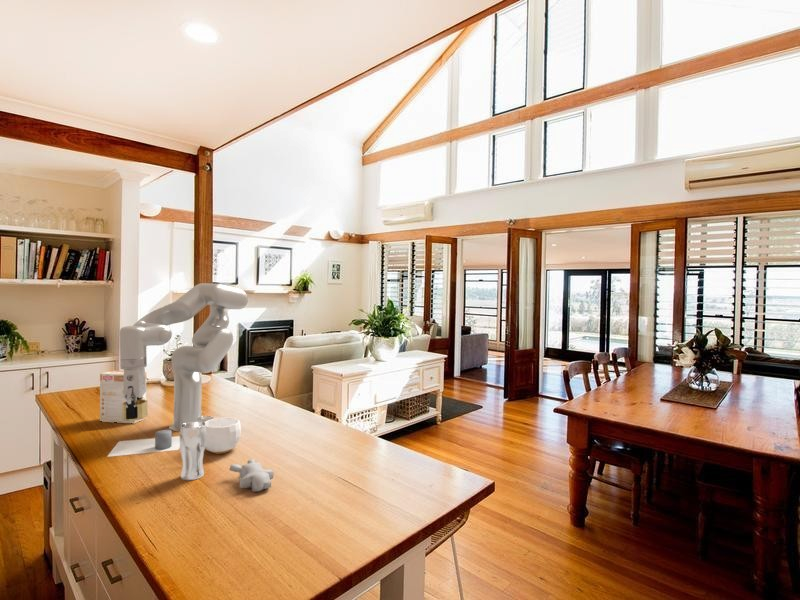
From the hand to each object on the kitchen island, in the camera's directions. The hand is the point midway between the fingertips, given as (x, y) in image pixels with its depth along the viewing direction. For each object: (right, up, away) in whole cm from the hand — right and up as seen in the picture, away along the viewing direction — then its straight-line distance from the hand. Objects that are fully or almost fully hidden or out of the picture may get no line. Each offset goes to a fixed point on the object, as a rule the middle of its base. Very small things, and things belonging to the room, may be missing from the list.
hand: (134, 414), depth 144 cm
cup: (+29, -12, -1) cm, 32 cm away
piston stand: (+5, -11, -1) cm, 12 cm away
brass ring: (0, -1, 0) cm, 1 cm away
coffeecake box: (-22, -10, +28) cm, 37 cm away
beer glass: (+29, -13, -20) cm, 38 cm away
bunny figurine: (+48, -13, -23) cm, 55 cm away
